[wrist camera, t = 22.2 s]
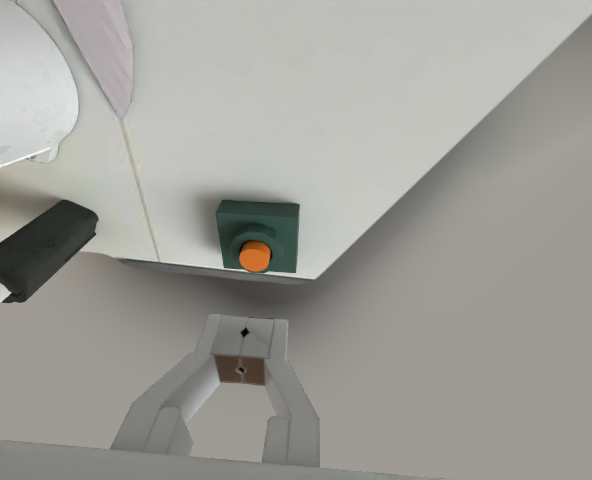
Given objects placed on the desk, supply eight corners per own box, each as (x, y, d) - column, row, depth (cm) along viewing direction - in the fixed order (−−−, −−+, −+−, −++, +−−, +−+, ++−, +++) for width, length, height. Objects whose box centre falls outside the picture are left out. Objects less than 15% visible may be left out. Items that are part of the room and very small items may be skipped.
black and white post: (95, 239, 43) (-99, 425, 23) (58, 224, 42) (-181, 407, 22) (99, 213, 41) (-116, 400, 20) (60, 196, 39) (-211, 377, 19)
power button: (243, 261, 38) (240, 270, 36) (241, 239, 36) (237, 248, 34) (270, 263, 38) (269, 272, 36) (270, 241, 36) (268, 250, 34)
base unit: (229, 253, 43) (220, 277, 39) (222, 199, 38) (211, 220, 34) (297, 258, 43) (294, 282, 39) (299, 204, 38) (297, 226, 34)
